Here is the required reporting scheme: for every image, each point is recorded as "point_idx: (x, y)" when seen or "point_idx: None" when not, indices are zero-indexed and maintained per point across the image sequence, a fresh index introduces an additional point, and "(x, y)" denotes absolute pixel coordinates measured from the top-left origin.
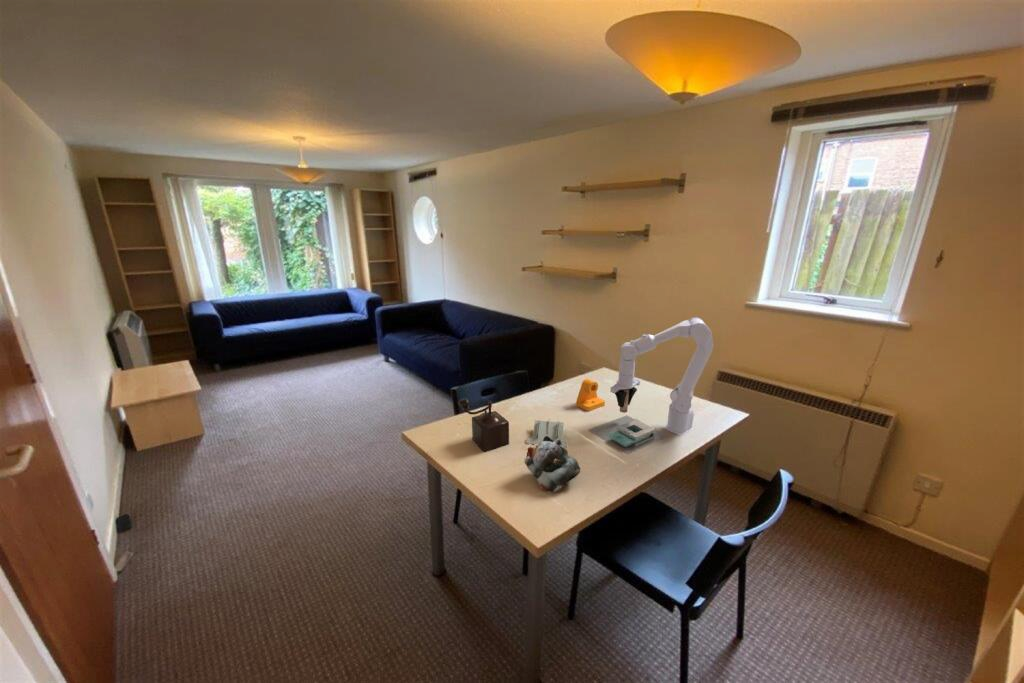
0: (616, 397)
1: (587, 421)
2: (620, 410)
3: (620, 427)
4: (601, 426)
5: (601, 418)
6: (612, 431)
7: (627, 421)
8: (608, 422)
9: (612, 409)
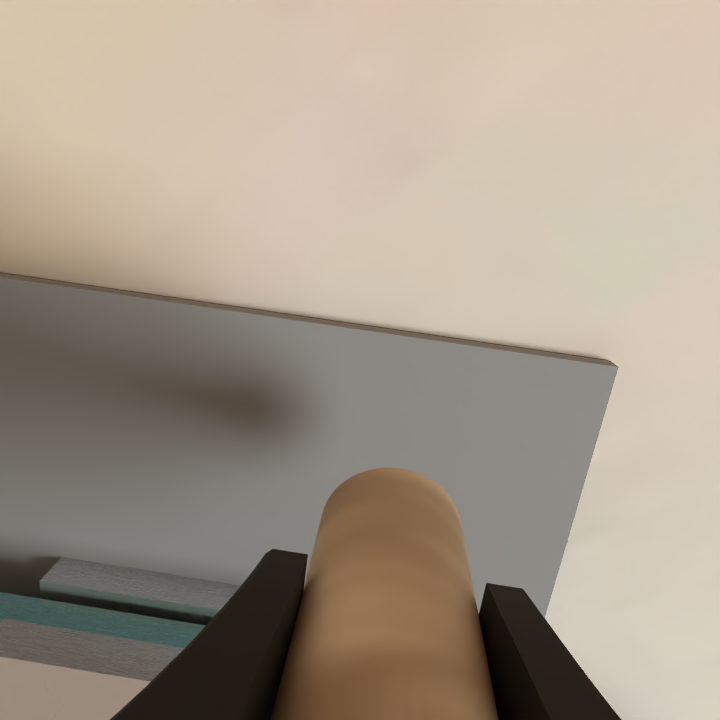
0: (116, 714)
1: (52, 68)
2: (319, 525)
3: (3, 686)
4: (78, 325)
5: (290, 149)
6: (106, 479)
7: (455, 466)
8: (236, 321)
9: (693, 60)
